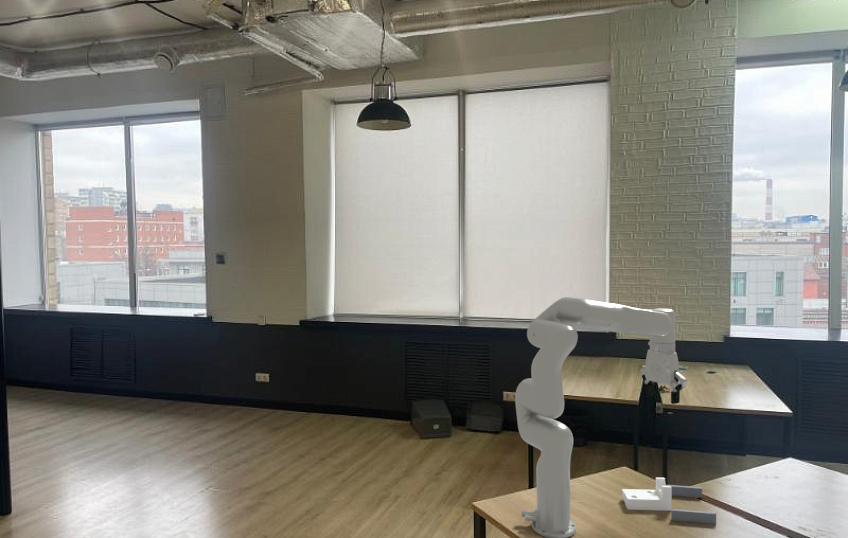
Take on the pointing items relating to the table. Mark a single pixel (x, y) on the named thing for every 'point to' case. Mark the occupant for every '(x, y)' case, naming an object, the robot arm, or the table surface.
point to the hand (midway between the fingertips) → (662, 399)
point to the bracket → (649, 497)
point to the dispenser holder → (689, 514)
